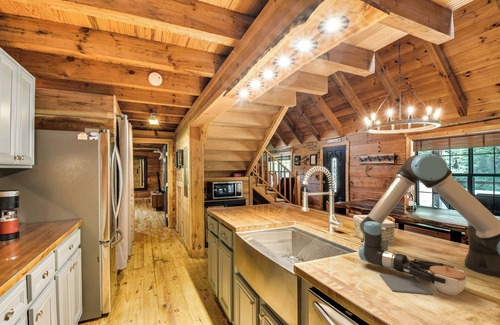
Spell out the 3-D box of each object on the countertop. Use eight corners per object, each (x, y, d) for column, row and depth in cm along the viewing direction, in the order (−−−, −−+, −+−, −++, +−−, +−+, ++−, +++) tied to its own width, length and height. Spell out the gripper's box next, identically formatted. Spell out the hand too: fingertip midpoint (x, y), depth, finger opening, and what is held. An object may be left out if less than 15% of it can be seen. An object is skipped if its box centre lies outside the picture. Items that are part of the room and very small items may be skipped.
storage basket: (397, 246, 143) (396, 222, 143) (371, 247, 142) (370, 222, 143) (374, 235, 167) (374, 214, 167) (352, 235, 166) (352, 214, 167)
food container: (393, 262, 119) (393, 242, 119) (380, 261, 120) (380, 241, 120) (384, 253, 131) (384, 235, 131) (372, 252, 132) (372, 235, 132)
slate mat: (414, 277, 102) (414, 276, 102) (433, 295, 88) (433, 293, 88) (379, 275, 105) (379, 274, 105) (392, 291, 91) (392, 290, 91)
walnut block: (442, 272, 108) (442, 263, 108) (454, 275, 104) (453, 266, 105) (440, 274, 105) (440, 265, 105) (451, 277, 102) (451, 268, 102)
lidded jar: (472, 295, 88) (472, 270, 88) (455, 301, 84) (454, 275, 84) (440, 282, 98) (440, 259, 98) (423, 287, 94) (423, 263, 94)
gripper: (405, 263, 112) (467, 279, 95) (385, 277, 98) (454, 300, 81) (404, 247, 112) (466, 261, 95) (384, 259, 98) (453, 278, 81)
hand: (461, 279), depth 88 cm, fingers closed on lidded jar, 11 cm apart
